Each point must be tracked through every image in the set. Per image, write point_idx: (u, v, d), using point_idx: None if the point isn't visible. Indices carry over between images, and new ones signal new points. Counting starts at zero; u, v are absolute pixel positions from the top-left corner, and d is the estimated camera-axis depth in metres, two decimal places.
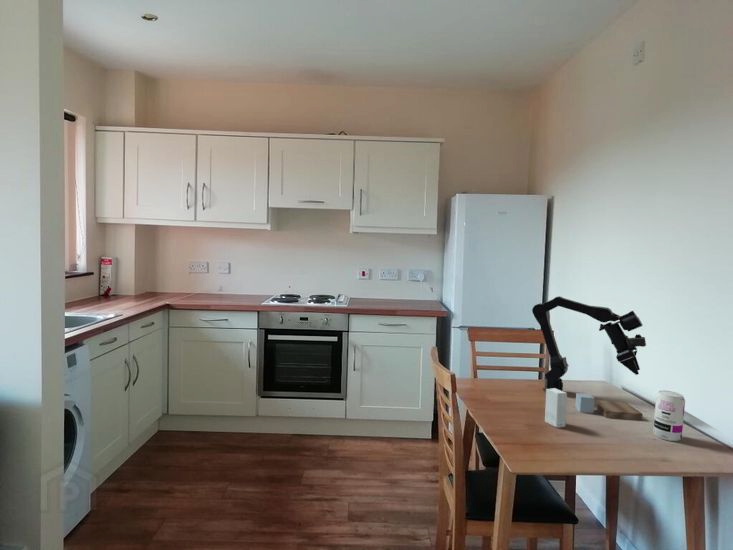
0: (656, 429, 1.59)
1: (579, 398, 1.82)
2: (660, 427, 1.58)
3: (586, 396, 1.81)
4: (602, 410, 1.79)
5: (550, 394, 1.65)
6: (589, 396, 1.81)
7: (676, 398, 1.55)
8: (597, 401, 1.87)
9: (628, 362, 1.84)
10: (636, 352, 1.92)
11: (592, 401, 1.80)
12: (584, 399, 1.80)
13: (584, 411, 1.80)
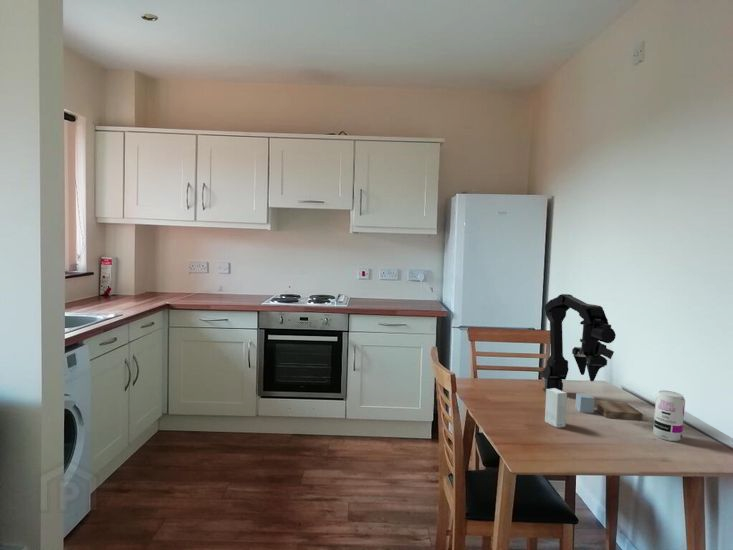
0: (656, 429, 1.59)
1: (579, 398, 1.82)
2: (660, 427, 1.58)
3: (586, 396, 1.81)
4: (602, 410, 1.79)
5: (550, 394, 1.65)
6: (589, 396, 1.81)
7: (676, 398, 1.55)
8: (597, 401, 1.87)
9: (593, 367, 1.76)
10: None
11: (592, 401, 1.80)
12: (584, 399, 1.80)
13: (584, 411, 1.80)
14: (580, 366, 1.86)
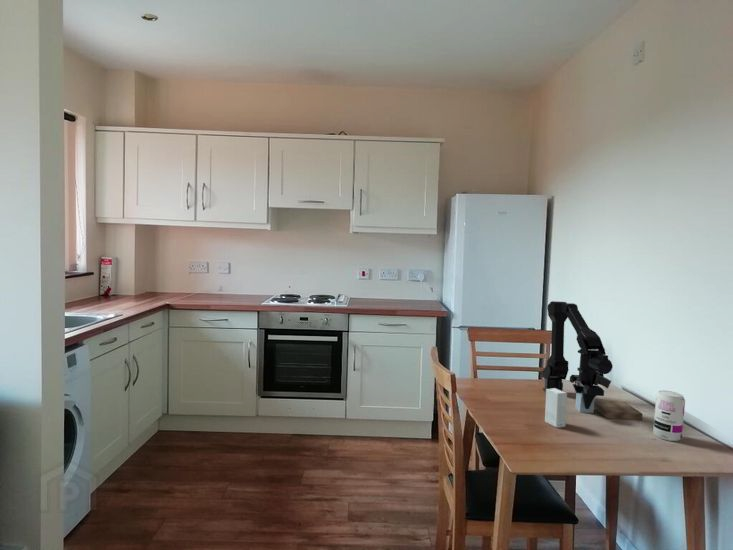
0: (656, 429, 1.59)
1: (579, 398, 1.82)
2: (660, 427, 1.58)
3: None
4: (602, 410, 1.79)
5: (550, 394, 1.65)
6: None
7: (676, 398, 1.55)
8: (597, 401, 1.87)
9: (588, 395, 1.79)
10: None
11: (592, 401, 1.80)
12: None
13: (584, 411, 1.80)
14: None
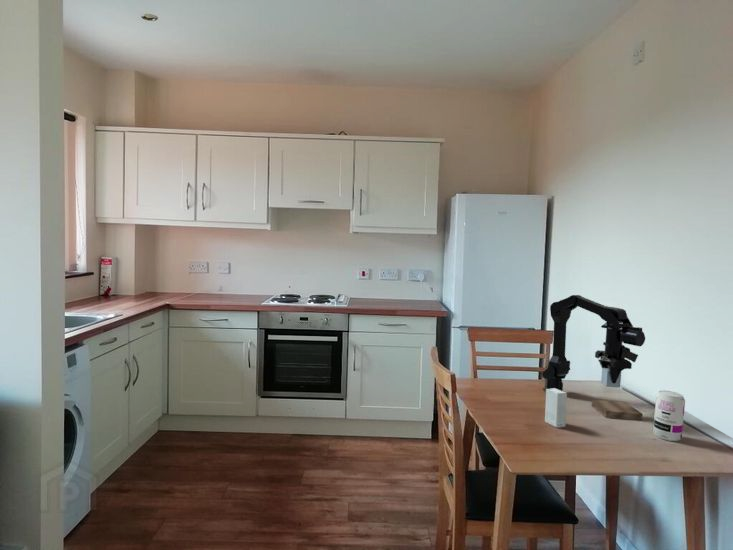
0: (656, 429, 1.59)
1: (605, 372, 1.80)
2: (660, 427, 1.58)
3: None
4: (602, 410, 1.79)
5: (550, 394, 1.65)
6: None
7: (676, 398, 1.55)
8: (597, 401, 1.87)
9: (614, 369, 1.77)
10: None
11: (619, 375, 1.78)
12: None
13: (611, 385, 1.79)
14: None
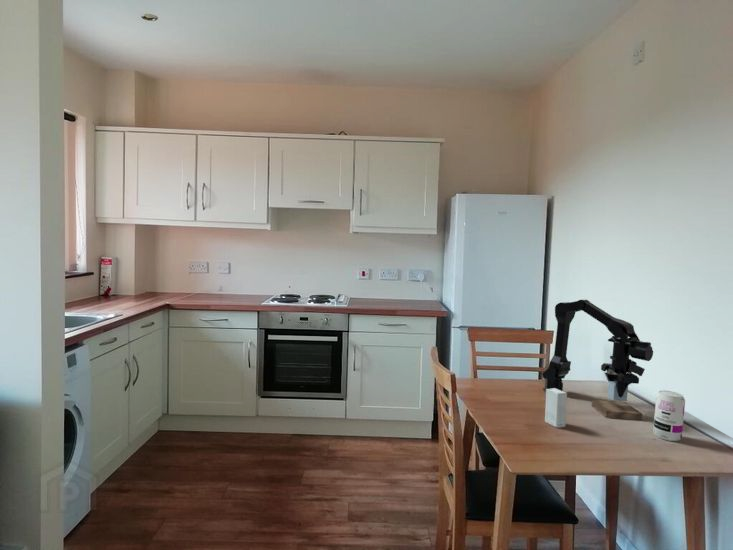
0: (656, 429, 1.59)
1: (612, 386, 1.80)
2: (660, 427, 1.58)
3: None
4: (602, 410, 1.79)
5: (550, 394, 1.65)
6: None
7: (676, 398, 1.55)
8: (597, 401, 1.87)
9: (621, 383, 1.77)
10: None
11: (626, 389, 1.79)
12: None
13: (617, 399, 1.79)
14: None
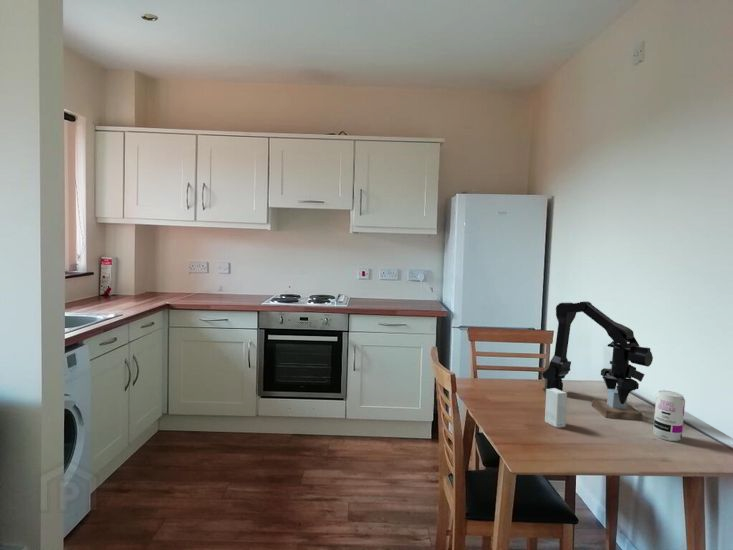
0: (656, 429, 1.59)
1: (612, 394, 1.81)
2: (660, 427, 1.58)
3: None
4: (602, 410, 1.79)
5: (550, 394, 1.65)
6: None
7: (676, 398, 1.55)
8: (597, 401, 1.87)
9: (623, 390, 1.76)
10: None
11: None
12: (617, 395, 1.79)
13: (617, 407, 1.79)
14: (609, 388, 1.86)
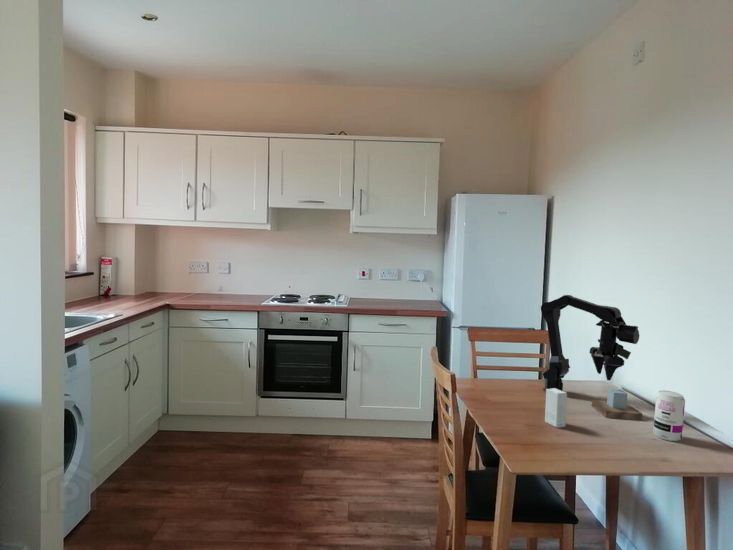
0: (656, 429, 1.59)
1: (612, 394, 1.81)
2: (660, 427, 1.58)
3: (619, 392, 1.80)
4: (602, 410, 1.79)
5: (550, 394, 1.65)
6: (622, 392, 1.81)
7: (676, 398, 1.55)
8: (597, 401, 1.87)
9: (610, 367, 1.82)
10: None
11: (625, 397, 1.79)
12: (617, 395, 1.79)
13: (617, 407, 1.79)
14: (597, 365, 1.93)
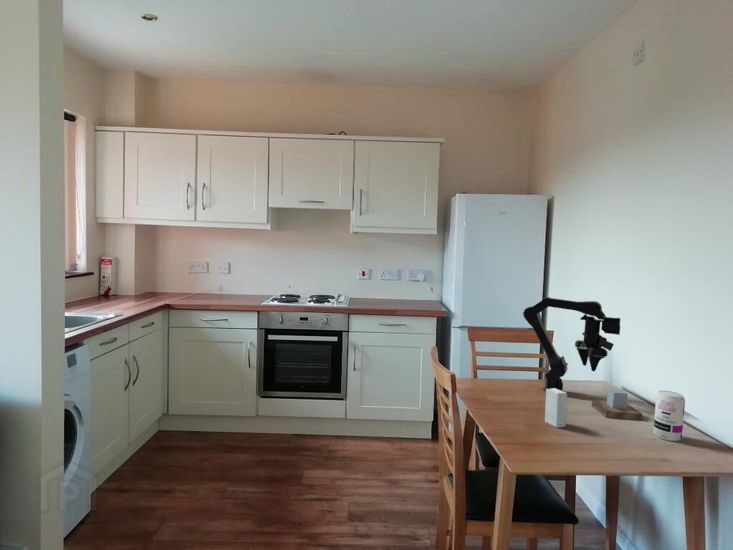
0: (656, 429, 1.59)
1: (612, 394, 1.81)
2: (660, 427, 1.58)
3: (619, 392, 1.80)
4: (602, 410, 1.79)
5: (550, 394, 1.65)
6: (622, 392, 1.81)
7: (676, 398, 1.55)
8: (597, 401, 1.87)
9: (594, 358, 1.91)
10: None
11: (625, 397, 1.79)
12: (617, 395, 1.79)
13: (617, 407, 1.79)
14: (582, 358, 2.02)
